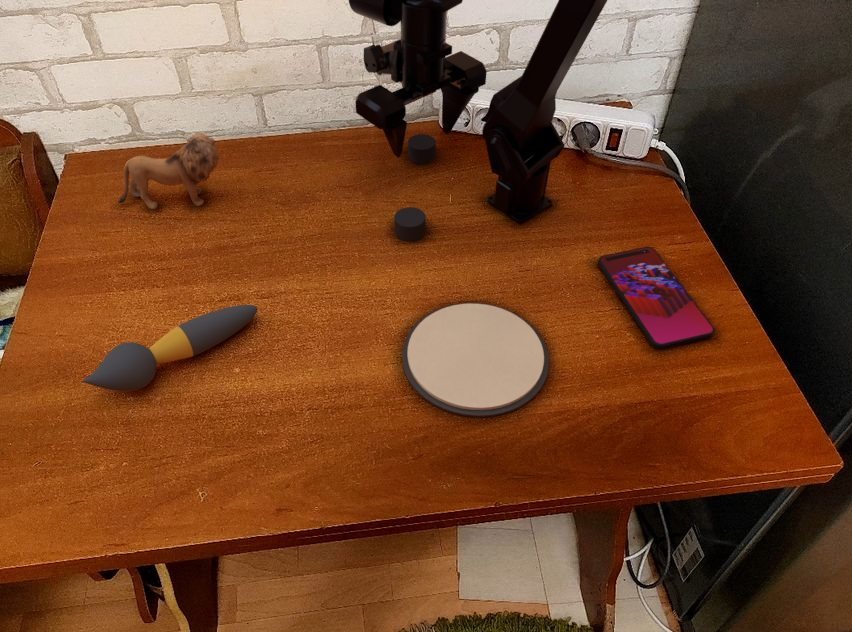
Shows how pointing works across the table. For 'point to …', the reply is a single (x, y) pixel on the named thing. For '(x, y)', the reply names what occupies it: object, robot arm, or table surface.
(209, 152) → the lion figurine
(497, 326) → the face circle
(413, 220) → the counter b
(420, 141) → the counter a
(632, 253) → the smartphone
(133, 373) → the paintbrush
